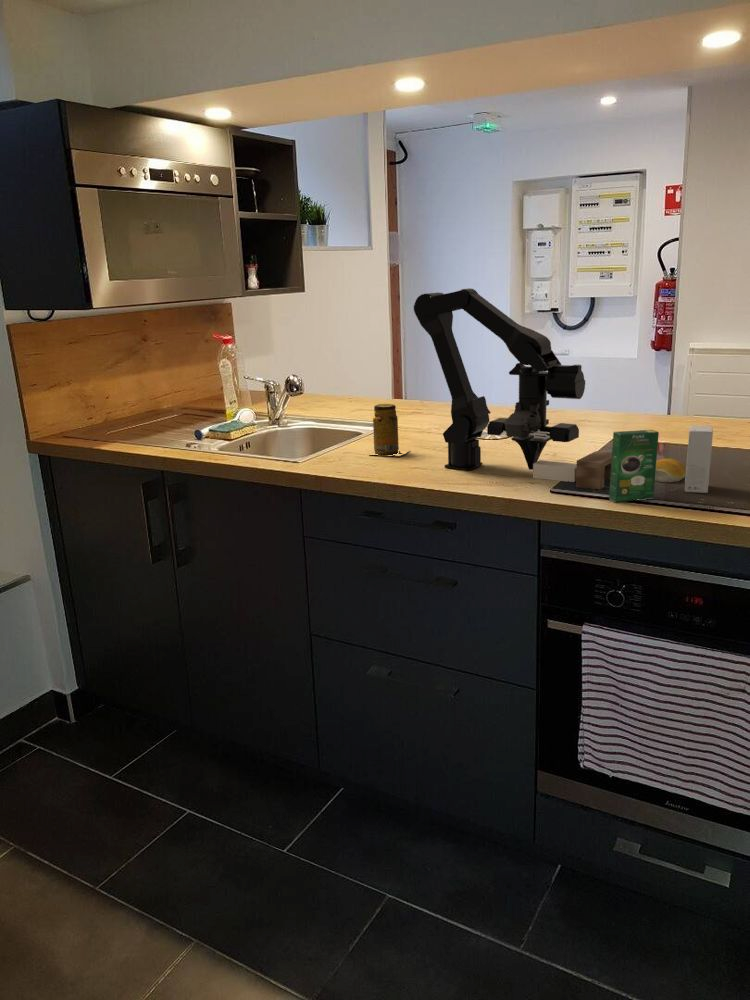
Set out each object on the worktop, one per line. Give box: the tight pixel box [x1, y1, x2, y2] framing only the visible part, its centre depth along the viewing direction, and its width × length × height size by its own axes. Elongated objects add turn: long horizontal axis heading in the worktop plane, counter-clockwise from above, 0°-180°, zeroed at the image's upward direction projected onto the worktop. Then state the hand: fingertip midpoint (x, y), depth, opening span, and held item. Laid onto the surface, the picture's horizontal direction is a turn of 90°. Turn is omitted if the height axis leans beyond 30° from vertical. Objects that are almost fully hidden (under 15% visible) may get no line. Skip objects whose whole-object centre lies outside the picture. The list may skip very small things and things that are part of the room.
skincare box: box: [684, 424, 714, 494], centre depth 151 cm, size 6×4×12 cm
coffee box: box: [608, 429, 660, 503], centre depth 146 cm, size 8×3×13 cm, turn 101°
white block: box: [532, 459, 577, 483], centre depth 164 cm, size 11×4×3 cm, turn 57°
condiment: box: [372, 403, 401, 458], centre depth 191 cm, size 7×8×12 cm
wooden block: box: [575, 450, 612, 490], centre depth 159 cm, size 5×10×5 cm, turn 143°
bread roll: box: [655, 458, 686, 483], centre depth 161 cm, size 8×9×4 cm
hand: (531, 469), depth 168 cm, fingers closed
